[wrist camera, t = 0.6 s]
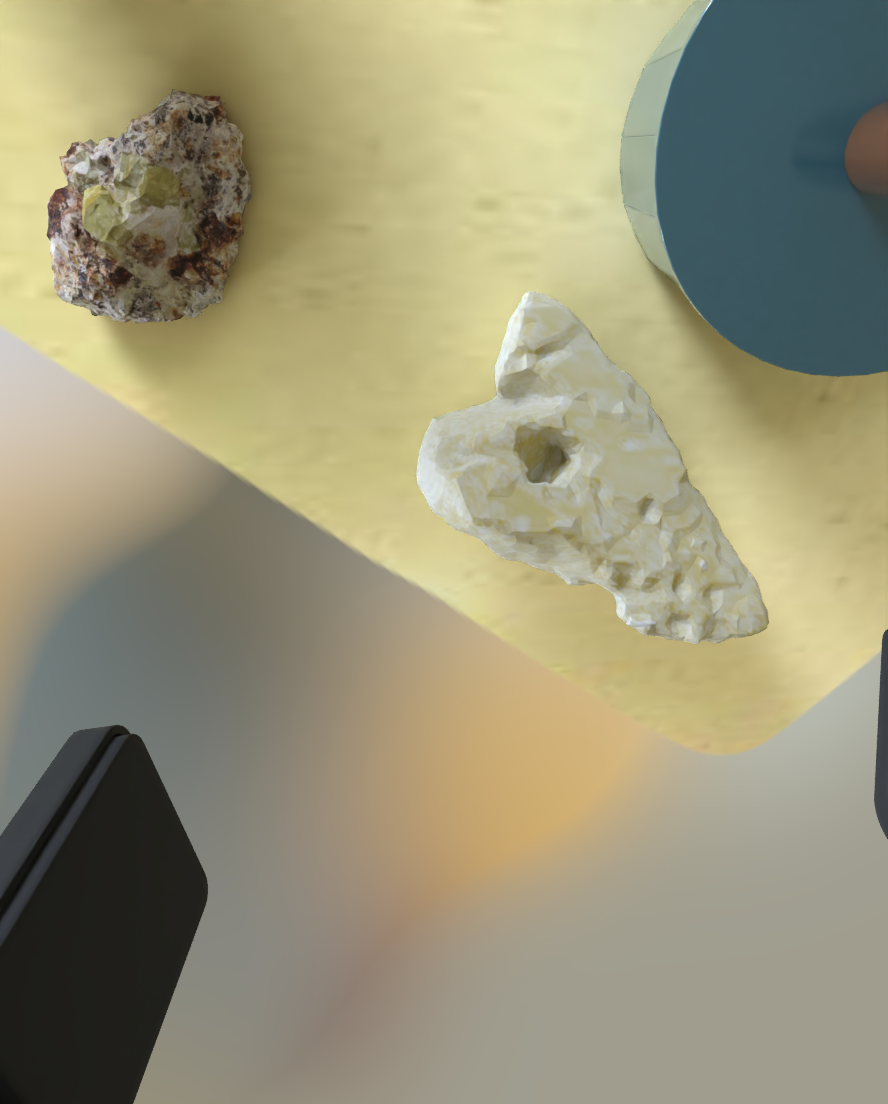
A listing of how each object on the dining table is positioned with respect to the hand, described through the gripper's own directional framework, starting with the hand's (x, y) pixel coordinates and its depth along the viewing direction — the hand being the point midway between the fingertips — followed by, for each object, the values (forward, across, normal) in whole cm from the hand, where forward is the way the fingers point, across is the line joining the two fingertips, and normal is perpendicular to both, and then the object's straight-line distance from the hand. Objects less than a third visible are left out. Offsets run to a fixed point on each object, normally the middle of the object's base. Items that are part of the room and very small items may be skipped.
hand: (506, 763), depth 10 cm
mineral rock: (+29, +13, -7) cm, 33 cm away
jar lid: (+20, -13, -4) cm, 24 cm away
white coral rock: (+29, -4, +7) cm, 31 cm away
